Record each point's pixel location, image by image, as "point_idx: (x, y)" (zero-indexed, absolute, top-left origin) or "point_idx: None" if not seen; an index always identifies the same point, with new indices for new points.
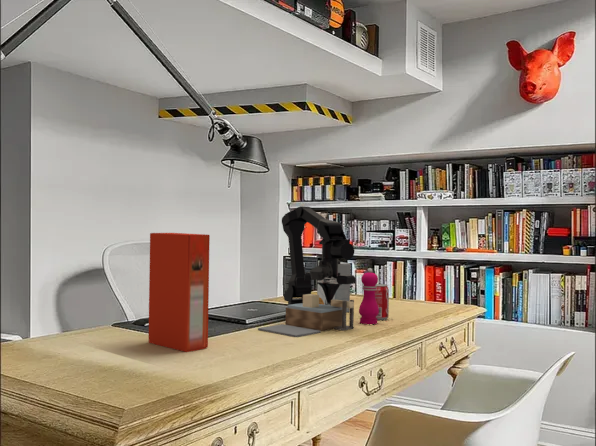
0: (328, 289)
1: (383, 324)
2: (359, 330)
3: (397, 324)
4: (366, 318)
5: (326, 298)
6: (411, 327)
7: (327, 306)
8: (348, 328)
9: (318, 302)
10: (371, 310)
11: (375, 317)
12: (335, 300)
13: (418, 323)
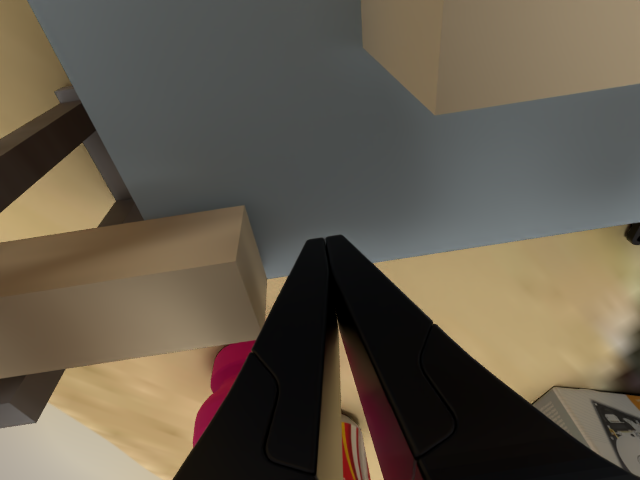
0: (290, 452)
1: (201, 389)
2: (47, 203)
3: (176, 420)
4: (237, 372)
5: (359, 264)
6: (85, 424)
7: (302, 183)
8: (96, 161)
9: (379, 41)
10: (197, 430)
11: None
12: (140, 280)
13: (167, 465)
